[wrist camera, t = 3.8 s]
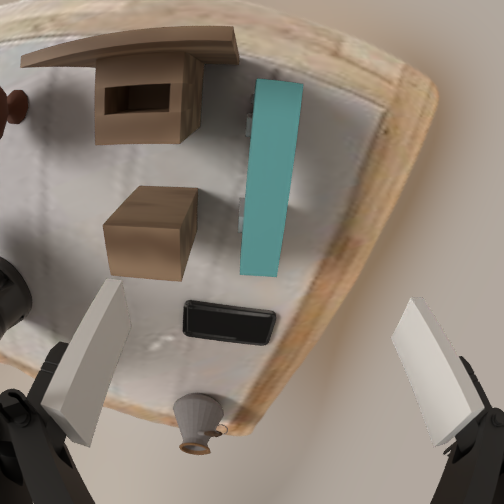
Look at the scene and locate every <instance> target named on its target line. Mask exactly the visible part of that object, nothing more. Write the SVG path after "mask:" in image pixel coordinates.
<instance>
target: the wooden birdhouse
mask: <svg viewBox="0 0 504 504" xmlns="http://www.w3.org/2000/svg"><path fill="white" fill-rule="evenodd" d="M205 64H230V65H239V53H238V48H237V43H236V38H235V33H234V29H233V27H231V26H178V27H161V28H149V29H139V30H131V31H123V32H116V33H110V34H104V35H99V36H93V37H88V38H84V39H79V40H75V41H70V42H66V43H62V44H59V45H55V46H51V47H48V48H44V49H41V50H38V51H35V52H31V53H28V54H25V55H22V56H21V66H20V68H27V67H93V68H96V74H95V145H114V144H180V143H181V142H183V141H184V140H185V139H186V138H187V137H189V136H190V135H191V134H192V133H193V132H195V131H196V130H197V129H198V128H199V127H200V122H201V105H202V90H203V77H204V65H205Z"/></svg>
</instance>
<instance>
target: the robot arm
mask: <svg viewBox="0 0 504 504" xmlns="http://www.w3.org/2000/svg"><path fill="white" fill-rule="evenodd" d="M31 307H32V299H31V295H30V292H29V289H28V287H27V285H26V283H25V281H24V280H23V278H22V277H21V275H20V274H19V273H18V272H17V270H16V269H15V268H14V267H13V266H12V265H11V264H10V263H8V262H7V261H6V260H4V259H2V258H1V257H0V340H1V338H2V336H3V335H4V333H5V332H6V331H7V330H8V329H10V328H11V327H13V326H14V325H16V324H17V323H19V322H20V321H22V320H23V319H24V318H25V317H26V316H27V314H28V313H29V312H30V310H31ZM130 329H131V321H130V317H129V312H128V308H127V303H126V298H125V293H124V288H123V283H122V280H116V279H106V280H105V282H104V283H103V285H102V287H101V288H100V290H99V292H98V293H97V295H96V297H95V298H94V300H93V302H92V304H91V305H90V307H89V309H88V311H87V312H86V314H85V316H84V318H83V319H82V321H81V323H80V325H79V327H78V329H77V330H76V332H75V334H74V336H73V338H72V340H71V342H70V344H68V343H63V342H59V343H58V344H56V345H55V346H54V347H53V348H52V349H51V350H50V352H49V354H48V355H47V357H46V359H45V362H44V363H43V365H42V367H41V371H39V373H38V375H37V377H36V379H35V381H34V383H33V385H32V387H31V389H30V391H29V393H28V395H27V397H25V395H24V394H23V393H22V392H20V391H19V390H16V389H8V390H6V391H4V392H2V393H1V394H0V504H33V503H34V504H95V502H94V500H93V499H92V497H91V495H90V493H89V492H88V490H87V488H86V486H85V484H84V482H83V480H82V478H81V476H80V474H79V472H78V470H77V468H76V466H75V464H74V462H73V459H72V457H71V455H70V453H69V450H68V448H67V446H66V444H65V443H64V441H65V438H66V435H67V437H68V438H69V439H70V440H71V441H72V442H74V443H78V444H81V445H84V446H87V447H90V445H91V442H92V438H93V435H94V432H95V428H96V425H97V422H98V419H99V415H100V412H101V409H102V406H103V403H104V400H105V397H106V394H107V391H108V388H109V385H110V382H111V380H112V377H113V374H114V371H115V368H116V366H117V363H118V360H119V357H120V355H121V352H122V349H123V347H124V344H125V342H126V339H127V336H128V334H129V331H130ZM391 339H392V342H393V344H394V346H395V348H396V351H397V353H398V355H399V358H400V360H401V362H402V365H403V367H404V370H405V372H406V374H407V377H408V379H409V382H410V384H411V387H412V389H413V392H414V394H415V397H416V400H417V402H418V405H419V408H420V410H421V413H422V416H423V418H424V421H425V424H426V427H427V430H428V433H429V435H430V439H431V441H432V444H433V447H436V446H439V445H443V444H445V443H447V442H449V441H450V440H451V439H452V438H453V437H454V436H455V438H456V442H454V443H453V444H452V445H451V446H450V447H448V448H447V449H446V450H445V451H444V453H443V454H444V455H445V454H446V453H447V452H449V451H450V450H451V452H450V454H448V455H447V456H448V457H449V458H448V461H447V463H446V466H445V469H444V472H443V474H442V477H441V480H440V482H439V484H438V487H437V489H436V492H435V494H434V496H433V498H432V501H431V503H430V504H504V412H503V411H502V410H501V409H499V408H492V406H491V405H490V403H489V400H488V398H487V396H486V394H485V392H484V390H483V388H482V386H481V384H480V382H478V379H477V377H476V375H474V371H473V369H472V368H471V366H470V364H469V363H468V362H467V361H466V360H465V359H464V358H463V357H462V356H458V355H457V353H456V351H455V349H454V348H453V346H452V344H451V342H450V340H449V339H448V337H447V335H446V334H445V332H444V330H443V329H442V327H441V325H440V324H439V322H438V320H437V319H436V317H435V315H434V314H433V312H432V311H431V309H430V308H429V306H428V305H427V303H426V301H425V300H424V298H423V297H411V298H410V300H409V303H408V304H407V307H406V309H405V311H404V313H403V315H402V317H401V320H400V322H399V323H398V326H397V328H396V330H395V332H394V334H393V335H392V337H391ZM32 500H33V501H32Z"/></svg>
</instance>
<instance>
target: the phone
mask: <svg viewBox="0 0 504 504" xmlns="http://www.w3.org/2000/svg"><path fill="white" fill-rule="evenodd" d="M275 321H276V314H275V313H274V312H273V311H269V310H261V309H253V308H245V307H237V306H229V305H222V304H215V303H208V302H201V301H194V300H188V301H186V302H185V305H184V313H183V333H184V334H185V335H186V336H189V337H195V338H202V339H209V340H217V341H225V342H233V343H241V344H250V345H260V346H264V345H267V344H268V343H269V340H270V337H271V334H272V331H273V327H274V324H275Z"/></svg>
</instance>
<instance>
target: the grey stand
mask: <svg viewBox="0 0 504 504" xmlns="http://www.w3.org/2000/svg"><path fill="white" fill-rule="evenodd" d="M252 116H253V114H249V113H247V121H246V137H251V127H252ZM244 206H245V198H240V204H239V220H238V233H242V230H243V218H244Z"/></svg>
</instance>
